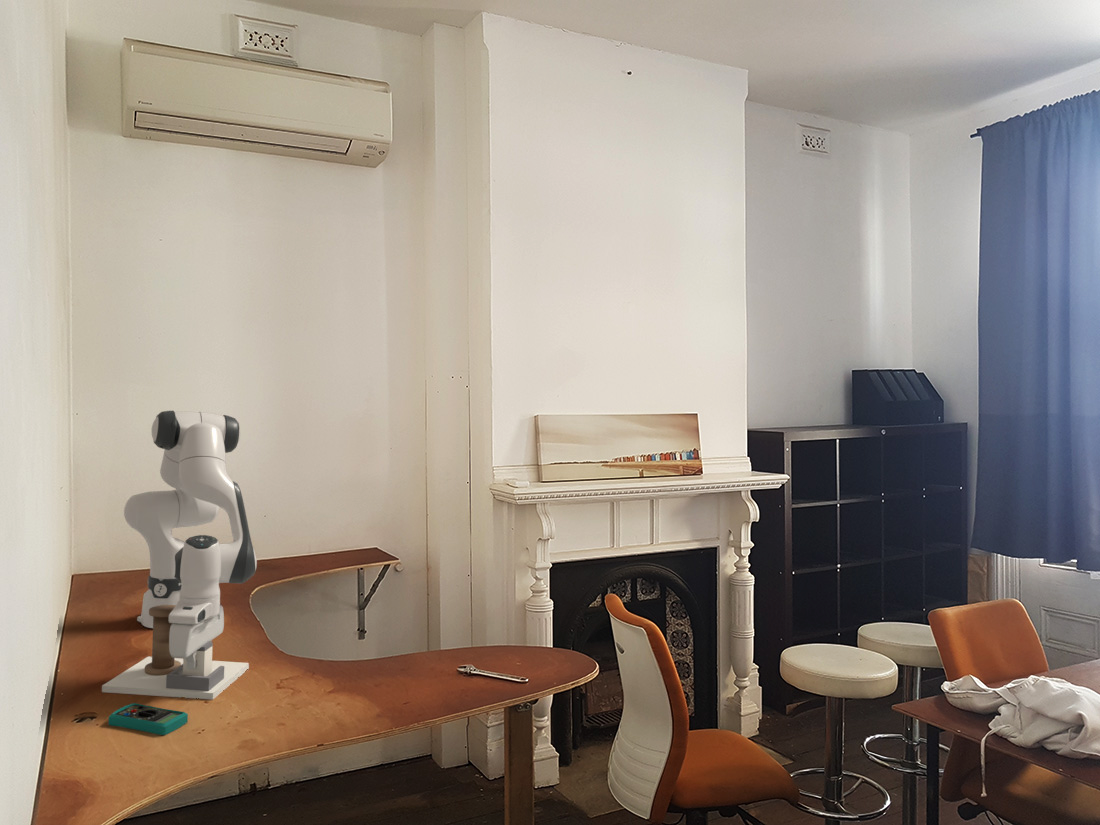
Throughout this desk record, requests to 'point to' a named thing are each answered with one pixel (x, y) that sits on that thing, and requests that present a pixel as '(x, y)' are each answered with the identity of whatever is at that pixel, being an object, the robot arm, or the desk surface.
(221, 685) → the board
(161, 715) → the digital multimeter
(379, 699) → the desk surface
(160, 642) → the bobbin
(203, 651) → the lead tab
